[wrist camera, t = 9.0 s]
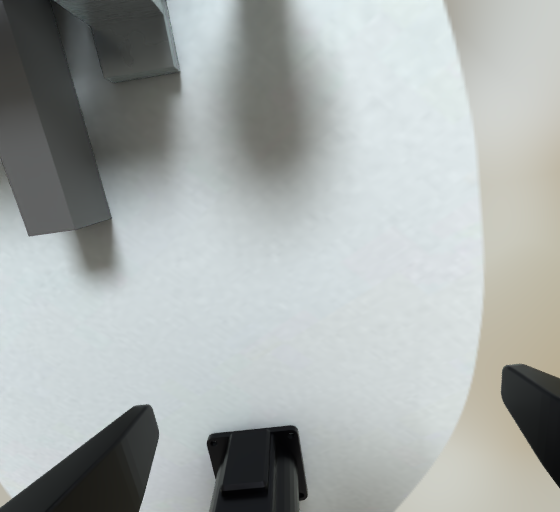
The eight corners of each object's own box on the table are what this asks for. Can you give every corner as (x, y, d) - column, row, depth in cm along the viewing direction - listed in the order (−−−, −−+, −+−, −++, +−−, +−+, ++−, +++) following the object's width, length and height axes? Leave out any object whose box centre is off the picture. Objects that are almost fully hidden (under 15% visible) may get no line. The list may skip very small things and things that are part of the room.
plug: (128, 215, 19) (76, 233, 14) (57, 225, 20) (-18, 246, 15) (31, -141, 15) (-91, -287, 10) (-59, -123, 15) (-220, -256, 10)
